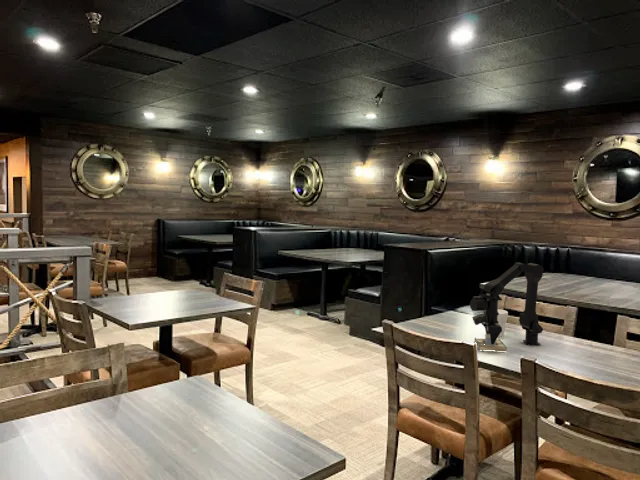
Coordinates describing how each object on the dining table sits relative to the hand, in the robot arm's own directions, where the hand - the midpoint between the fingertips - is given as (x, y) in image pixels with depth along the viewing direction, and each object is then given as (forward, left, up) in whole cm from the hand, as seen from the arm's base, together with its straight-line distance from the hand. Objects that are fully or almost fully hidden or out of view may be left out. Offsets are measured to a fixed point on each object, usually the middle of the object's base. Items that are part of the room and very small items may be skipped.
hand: (490, 341), depth 233 cm
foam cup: (-21, +8, -3) cm, 23 cm away
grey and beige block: (0, 0, -3) cm, 3 cm away
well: (0, 0, -3) cm, 3 cm away
